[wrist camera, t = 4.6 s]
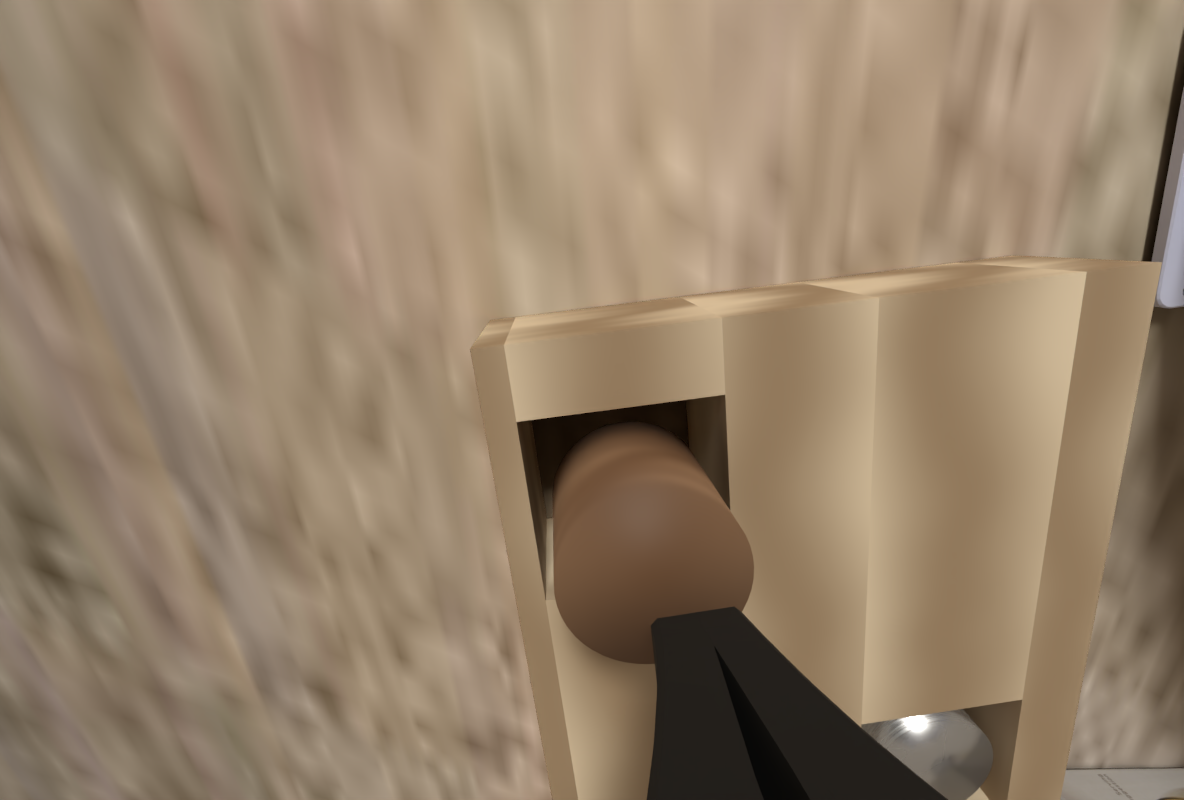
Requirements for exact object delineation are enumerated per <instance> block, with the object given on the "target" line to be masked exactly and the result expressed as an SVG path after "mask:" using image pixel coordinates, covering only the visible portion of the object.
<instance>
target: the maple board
mask: <svg viewBox="0 0 1184 800" xmlns="http://www.w3.org/2000/svg"><path fill="white" fill-rule="evenodd" d="M1161 265H1162V262H1144V261H1122V260H1100V259H1078V258H1056V257H1035V256H1005V257H997V258H989V259H981V260H973V261H965V262H957V263H949V264H941V265H933V266H925V267H917V268H909V269H901V270H892V271H884V272H876V273H868V274H860V275H852V276H844V277H836V278H828V279H820V280H812V281H804V282H796V283H788V284H780V285H771V286H763V287H755V288H747V289H739V290H731V291H723V292H715V293H707V294H699V295H691V296H683V297H675V298H667V299H659V300H651V301H642V302H634V303H626V304H618V305H610V306H602V307H594V308H586V309H578V310H570V311H562V312H554V313H546V314H538V315H530V316H521V317H513V318H505V319H497V320H490V322H489V323H488V324H487V326H486V327H485V329H484V330H483V332H482V333H481V334H480V336H479V337H478V339H477V340H476V342H475V343H474V344H473V346H472V347H471V349H470V352H471V357H472V363H473V368H474V374H475V379H476V385H477V390H478V395H479V401H480V406H481V412H482V417H483V423H484V428H485V434H486V439H487V445H488V450H489V456H490V461H491V467H492V472H493V478H494V483H495V489H496V494H497V500H498V505H499V511H500V516H501V521H502V527H503V532H504V538H505V543H506V549H507V554H508V560H509V565H510V571H511V576H512V582H513V587H514V593H515V598H516V604H517V609H518V615H519V620H520V626H521V631H522V636H523V642H524V647H525V653H526V658H527V664H528V669H529V675H530V680H531V686H532V691H533V697H534V702H535V708H536V713H537V719H538V724H539V730H540V735H541V741H542V746H543V751H544V757H545V762H546V768H547V773H548V779H549V784H550V790H551V795H552V800H647V793H648V785H649V777H650V770H651V762H652V754H653V745H654V733H655V716H656V700H657V680H656V671H655V664H634V663H626V662H622V661H618V660H614V659H611V658H608V657H606V656H603V655H601V654H599V653H597V652H595V651H593V650H592V649H590V648H589V647H587V646H586V645H584V644H583V643H582V642H581V641H580V640H579V639H577V638H576V637H575V636H574V635H573V633H572V632H571V631H570V630H569V628H568V627H567V626H566V624H565V622H564V621H563V619H562V617H561V615H560V612H559V610H558V608H557V604H556V600H555V595H554V572H553V518H548V519H547V517H546V511H545V504H544V498H543V491H542V485H541V479H540V472H539V466H538V459H537V453H536V446H535V440H534V433H533V427H532V420H536V419H543V418H551V417H558V416H566V415H574V414H581V413H589V412H597V411H604V410H612V409H620V408H627V407H635V406H642V405H650V404H658V403H665V402H673V401H681V400H686V407H687V422H688V437H689V449H690V450H691V451H692V453H693V454H694V456H695V457H696V459H697V460H698V462H699V464H700V465H701V467H702V468H703V470H704V471H705V473H706V474H707V476H708V477H709V479H710V480H711V482H712V484H713V485H714V487H715V488H716V490H717V491H718V493H719V494H720V496H721V497H722V499H723V500H724V502H725V504H726V505H727V507H728V508H729V510H730V511H731V513H732V514H733V516H734V517H735V519H736V520H737V522H738V524H739V525H740V527H741V528H742V530H743V531H744V533H745V535H746V537H747V539H748V541H749V544H750V547H751V550H752V554H753V561H754V579H753V584H752V590H751V593H750V595H749V598H748V601H747V603H746V605H745V607H744V609H743V611H742V613H743V614H744V615H745V616H746V617H747V618H748V619H749V620H750V621H751V622H752V623H753V624H754V626H755V627H756V628H757V629H758V630H759V631H760V632H761V633H762V634H763V635H764V636H765V637H766V638H767V639H768V640H769V641H770V642H771V643H772V644H773V645H774V646H775V647H776V648H777V649H778V650H779V651H780V652H781V653H782V654H783V655H784V656H785V657H786V658H787V659H788V660H789V661H790V662H791V663H792V664H793V665H794V666H795V667H796V668H797V669H798V670H799V671H800V672H801V673H802V674H803V675H804V676H805V677H806V678H808V679H809V680H810V681H811V682H812V683H813V684H814V685H815V686H816V687H817V688H818V689H819V690H820V691H821V692H823V693H824V694H825V695H826V696H827V697H828V698H829V699H830V700H831V701H832V702H833V703H835V704H836V705H837V706H838V707H839V708H840V709H841V710H842V711H843V712H844V713H845V714H847V715H848V716H849V717H850V718H851V719H852V720H853V721H854V722H855V723H857V724H858V725H859V726H860V727H861V725H862V724H868V723H874V722H881V721H887V720H894V719H900V718H907V717H913V716H919V715H926V714H932V713H939V712H945V711H952V710H958V709H963V710H964V711H965V712H966V713H967V714H968V715H969V716H970V718H971V719H972V720H973V721H974V722H975V723H976V725H977V726H978V727H979V728H980V729H981V730H982V731H983V733H984V734H985V735H986V736H987V737H988V739H989V741H990V743H991V745H992V748H993V763H992V767H991V770H990V772H989V774H988V776H987V778H986V780H985V781H984V783H983V784H982V785H981V786H980V788H979V789H978V790H977V791H976V792H975V793H974V794H973V795H971V796H970V797H969V798H967V799H966V800H1060V798H1061V793H1062V788H1063V782H1064V777H1065V772H1066V767H1067V761H1068V756H1069V751H1070V745H1071V740H1072V735H1073V730H1074V724H1075V719H1076V714H1077V709H1078V703H1079V698H1080V693H1081V687H1082V682H1083V677H1084V672H1085V666H1086V661H1087V656H1088V650H1089V645H1090V640H1091V635H1092V629H1093V624H1094V619H1095V613H1096V608H1097V603H1098V598H1099V592H1100V587H1101V582H1102V577H1103V571H1104V566H1105V561H1106V555H1107V550H1108V545H1109V540H1110V534H1111V529H1112V524H1113V518H1114V513H1115V508H1116V503H1117V497H1118V492H1119V487H1120V481H1121V476H1122V471H1123V466H1124V460H1125V455H1126V450H1127V444H1128V439H1129V434H1130V429H1131V423H1132V418H1133V413H1134V408H1135V402H1136V397H1137V392H1138V386H1139V381H1140V376H1141V371H1142V365H1143V360H1144V355H1145V349H1146V344H1147V339H1148V334H1149V328H1150V323H1151V318H1152V312H1153V307H1154V302H1155V297H1156V291H1157V286H1158V281H1159V276H1160V270H1161Z"/></svg>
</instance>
